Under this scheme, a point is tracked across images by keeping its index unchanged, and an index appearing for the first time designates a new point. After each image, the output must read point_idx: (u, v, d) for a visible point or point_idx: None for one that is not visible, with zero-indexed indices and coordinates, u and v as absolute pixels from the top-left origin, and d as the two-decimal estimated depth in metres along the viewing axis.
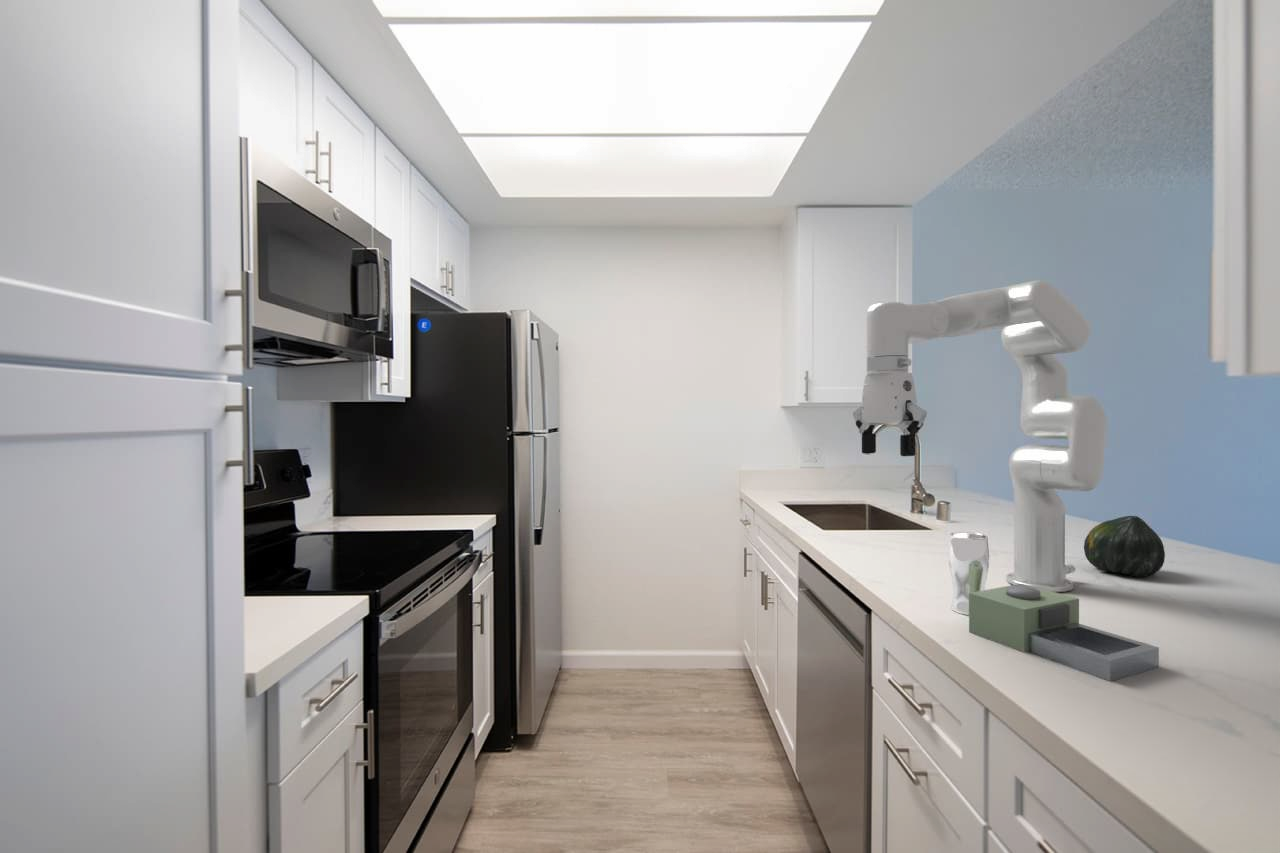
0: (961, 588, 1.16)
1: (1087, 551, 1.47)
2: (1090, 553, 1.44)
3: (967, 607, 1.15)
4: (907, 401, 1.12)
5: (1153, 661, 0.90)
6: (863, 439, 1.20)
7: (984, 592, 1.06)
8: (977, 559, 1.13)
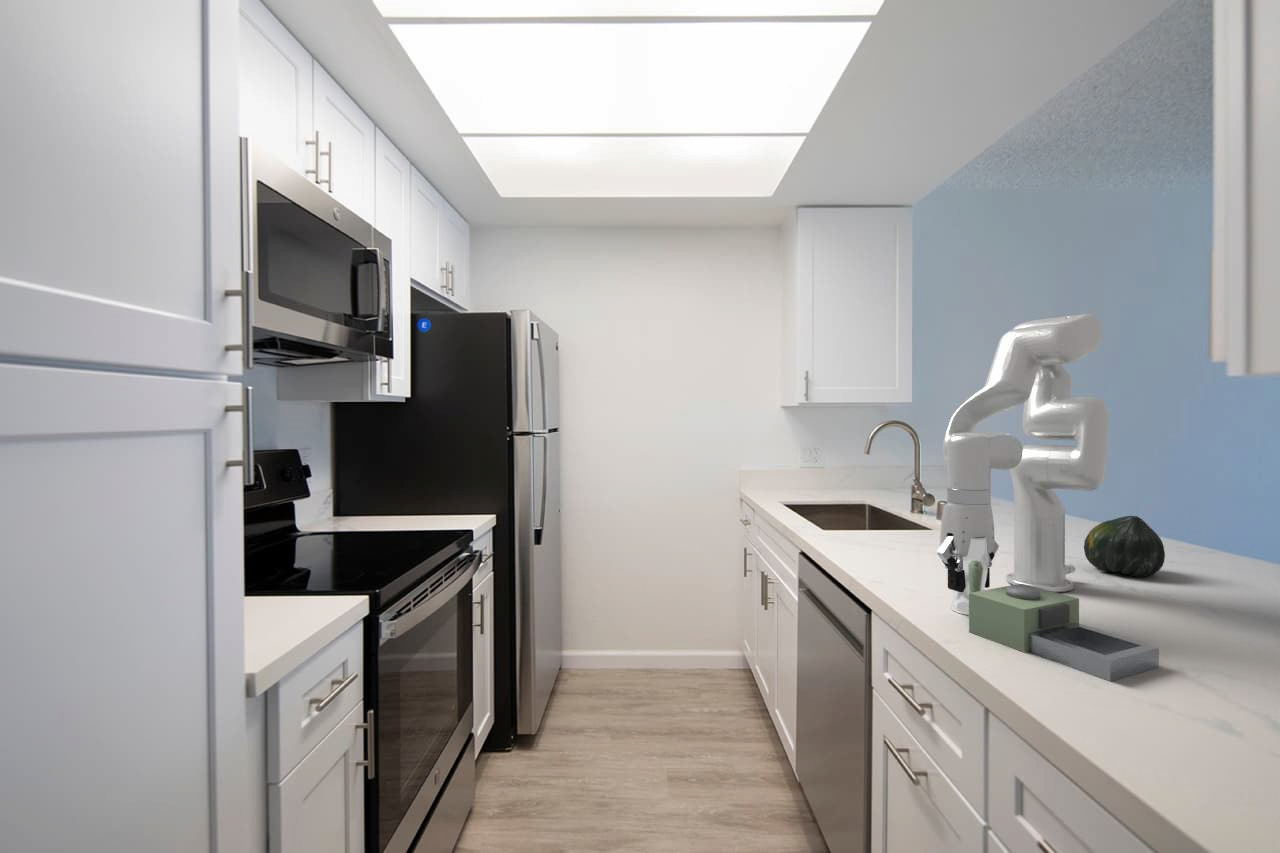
0: None
1: (1087, 551, 1.47)
2: (1090, 553, 1.44)
3: (967, 607, 1.15)
4: None
5: (1153, 661, 0.90)
6: (963, 577, 1.14)
7: (984, 592, 1.06)
8: (976, 559, 1.13)
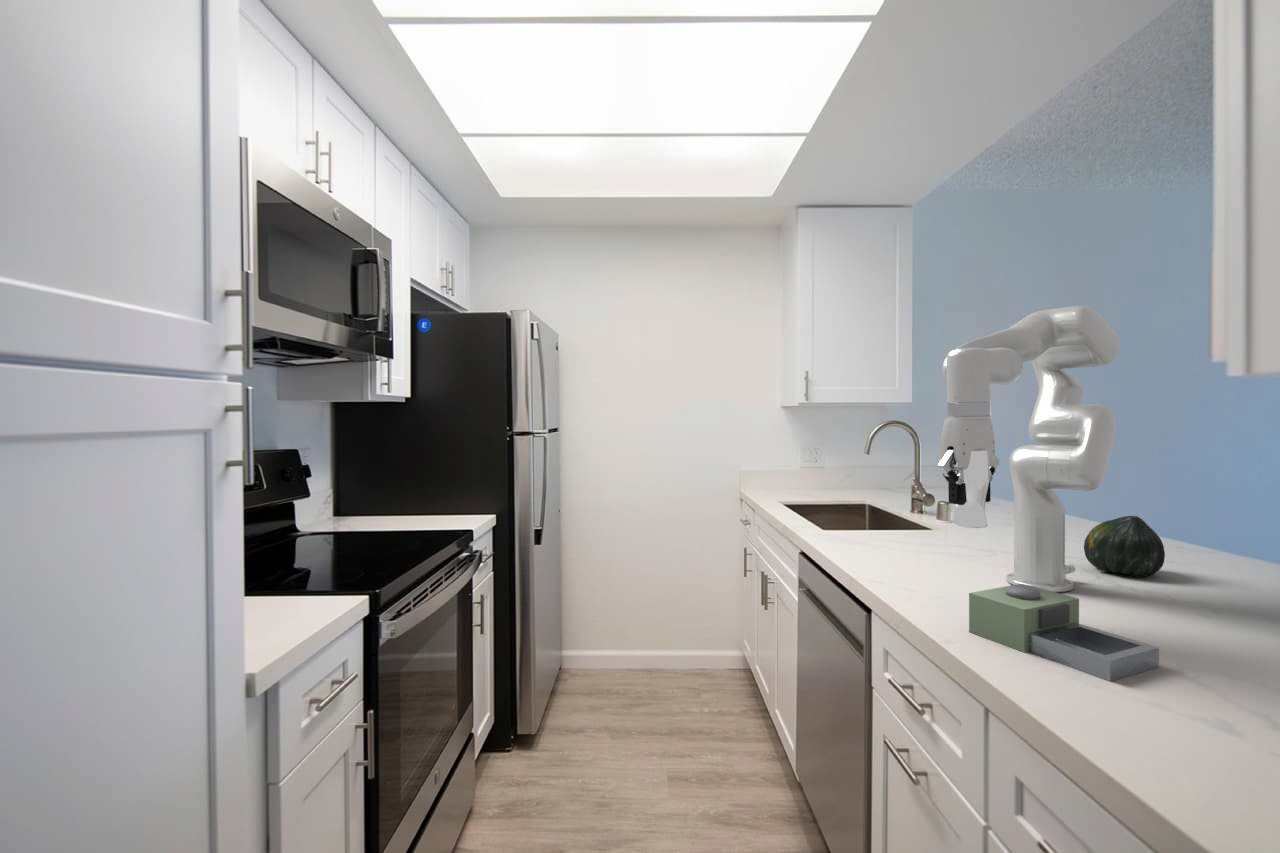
0: None
1: (1087, 551, 1.47)
2: (1090, 553, 1.44)
3: (968, 520, 1.15)
4: None
5: (1153, 661, 0.90)
6: (964, 490, 1.14)
7: (984, 592, 1.06)
8: (977, 471, 1.13)
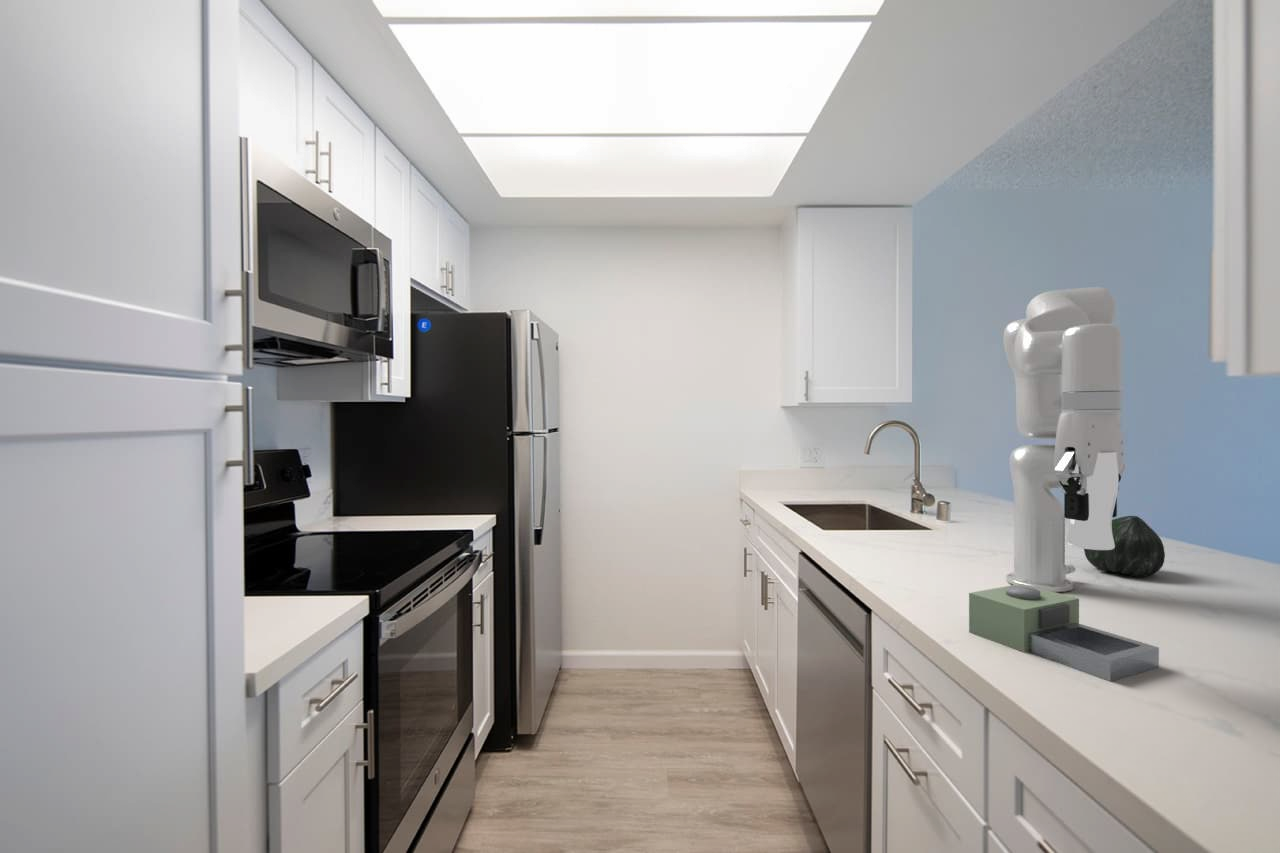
0: None
1: (1087, 551, 1.47)
2: (1090, 553, 1.44)
3: (1091, 540, 0.91)
4: None
5: (1153, 661, 0.90)
6: (1087, 502, 0.91)
7: (984, 592, 1.06)
8: (1105, 478, 0.90)
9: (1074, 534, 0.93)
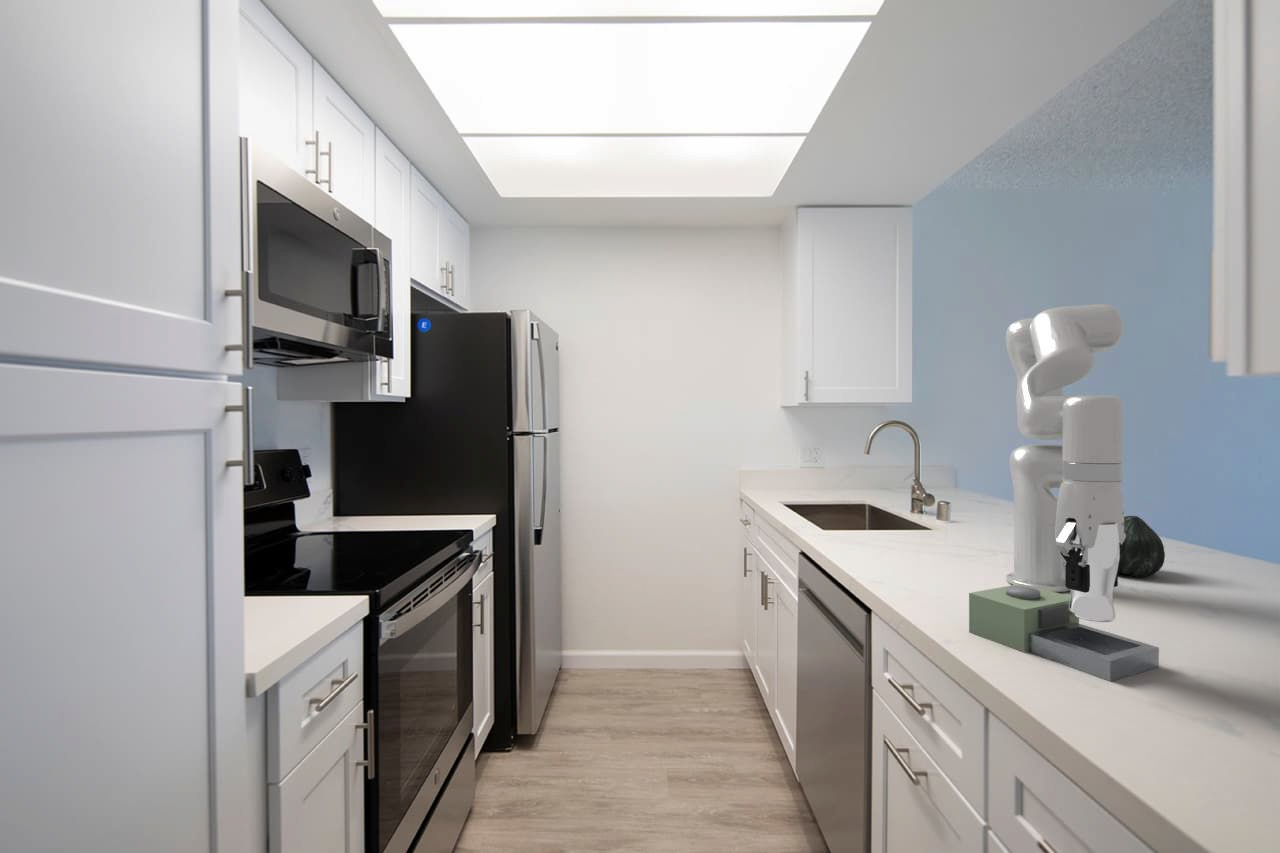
0: None
1: None
2: None
3: (1093, 611, 0.91)
4: None
5: (1153, 661, 0.90)
6: (1088, 574, 0.91)
7: (984, 592, 1.06)
8: (1106, 551, 0.90)
9: (1075, 604, 0.93)
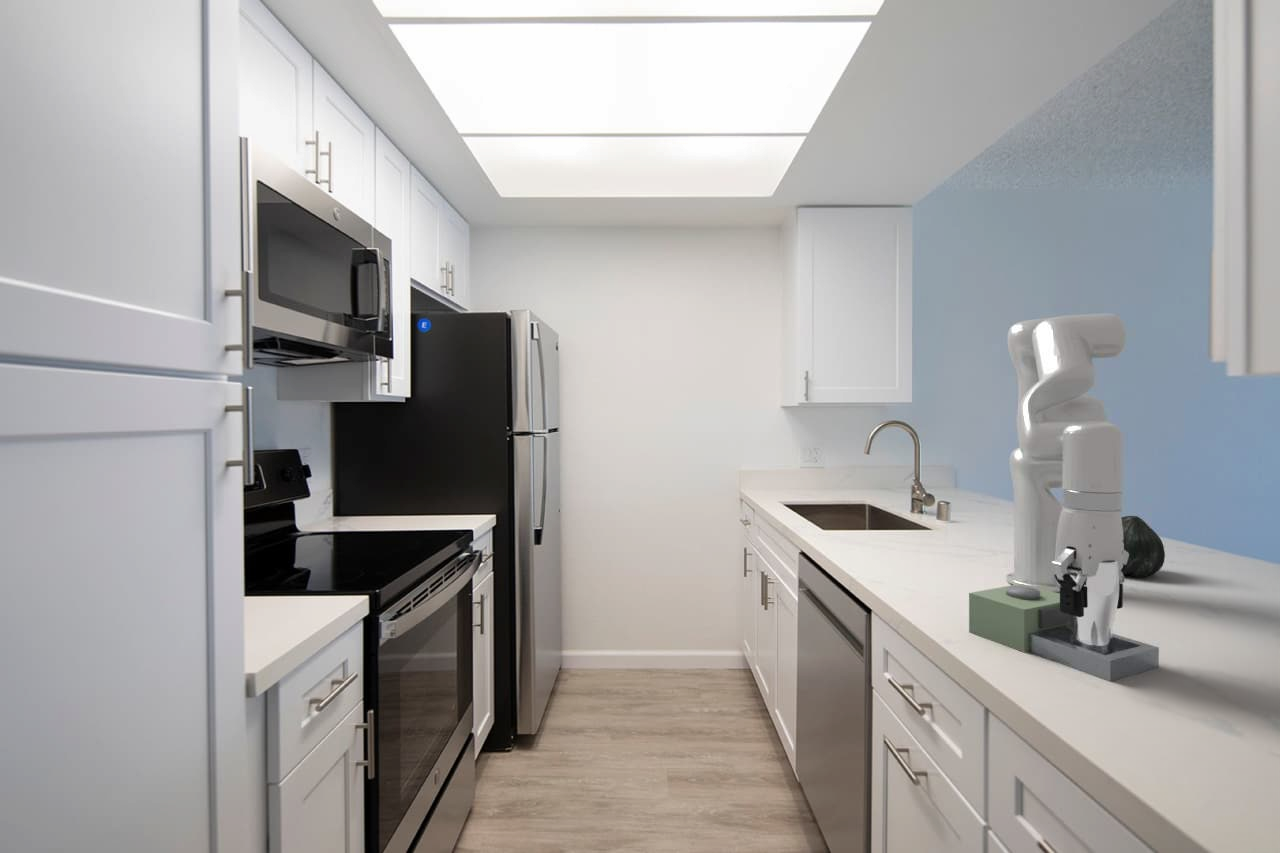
0: (1084, 624, 0.92)
1: None
2: None
3: (1092, 648, 0.92)
4: None
5: (1153, 661, 0.90)
6: (1083, 598, 0.90)
7: (984, 592, 1.06)
8: (1106, 589, 0.90)
9: (1075, 641, 0.94)
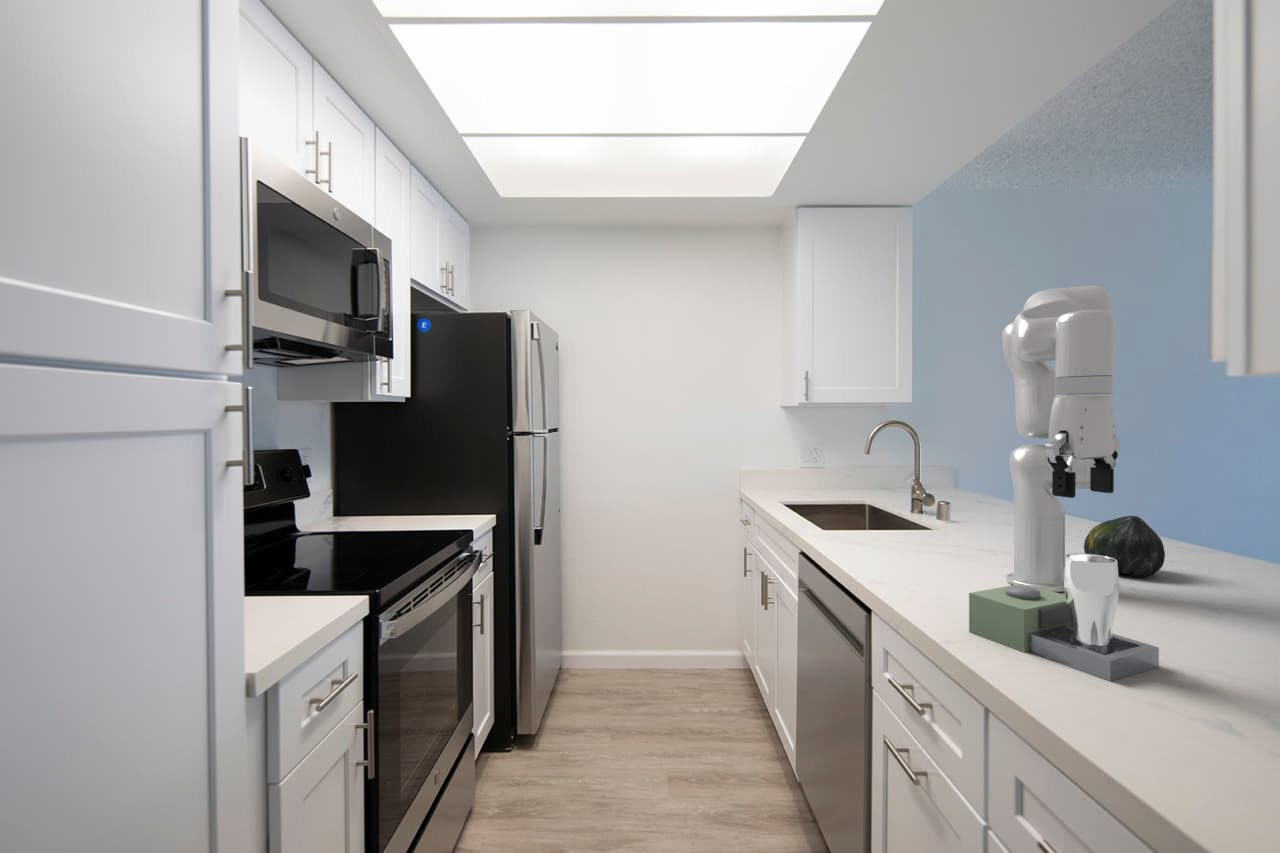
0: (1084, 624, 0.92)
1: (1087, 551, 1.47)
2: (1090, 553, 1.44)
3: (1092, 648, 0.92)
4: None
5: (1153, 661, 0.90)
6: (1075, 479, 0.93)
7: (984, 592, 1.06)
8: (1106, 589, 0.90)
9: (1075, 641, 0.94)
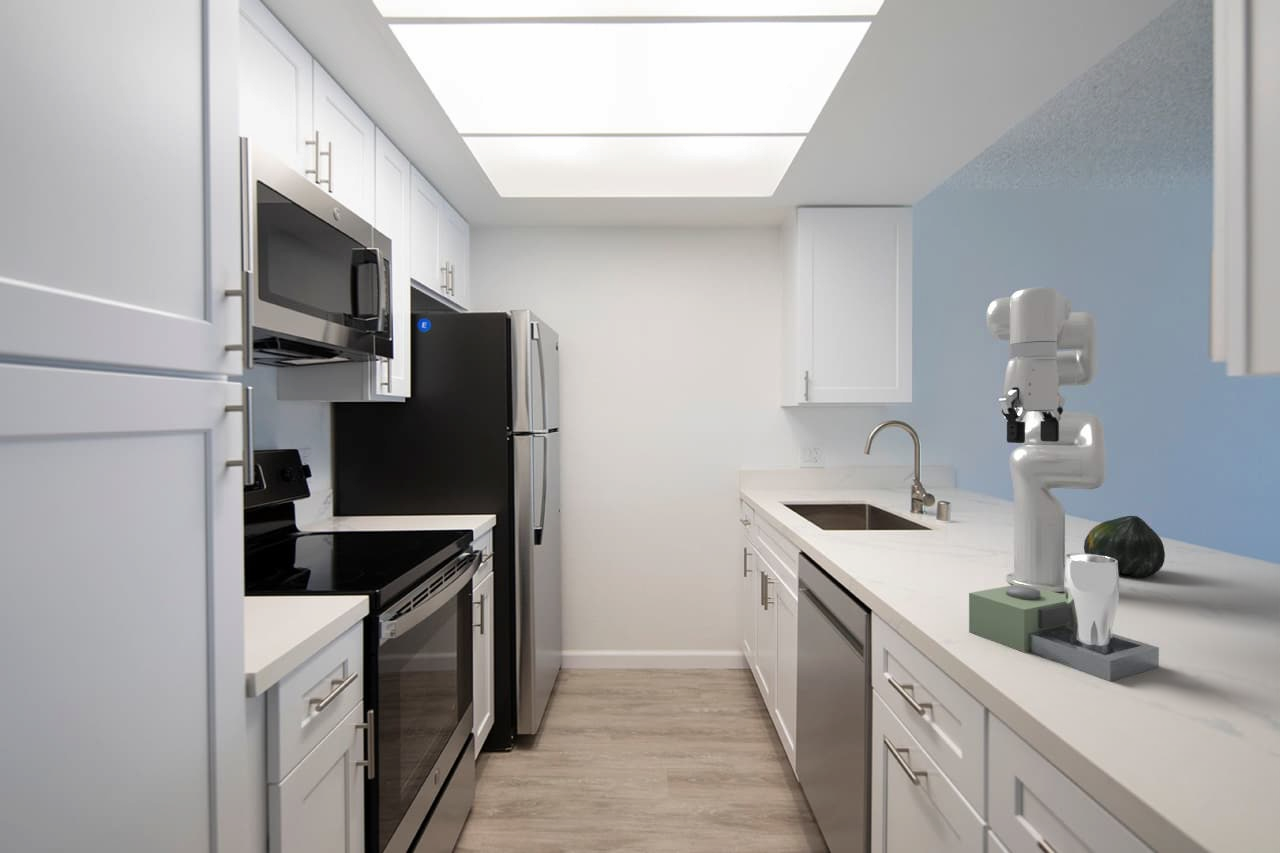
0: (1084, 624, 0.92)
1: (1087, 551, 1.47)
2: (1090, 553, 1.44)
3: (1092, 648, 0.92)
4: None
5: (1153, 661, 0.90)
6: (1024, 427, 1.12)
7: (984, 592, 1.06)
8: (1106, 589, 0.90)
9: (1075, 641, 0.94)
